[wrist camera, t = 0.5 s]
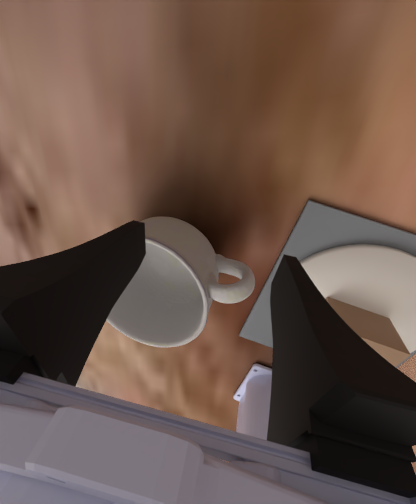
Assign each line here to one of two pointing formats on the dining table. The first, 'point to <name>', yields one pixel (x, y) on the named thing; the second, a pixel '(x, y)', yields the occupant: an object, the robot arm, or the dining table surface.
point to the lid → (370, 294)
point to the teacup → (176, 285)
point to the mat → (316, 240)
